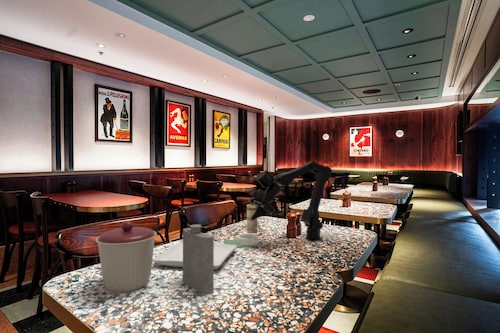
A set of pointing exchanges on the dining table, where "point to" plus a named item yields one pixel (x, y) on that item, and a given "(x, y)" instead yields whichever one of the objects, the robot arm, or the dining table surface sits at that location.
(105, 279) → the canister
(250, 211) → the tan tapered tumbler
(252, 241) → the octagonal cup coaster
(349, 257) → the dining table surface
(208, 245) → the hip flask
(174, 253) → the square plate
